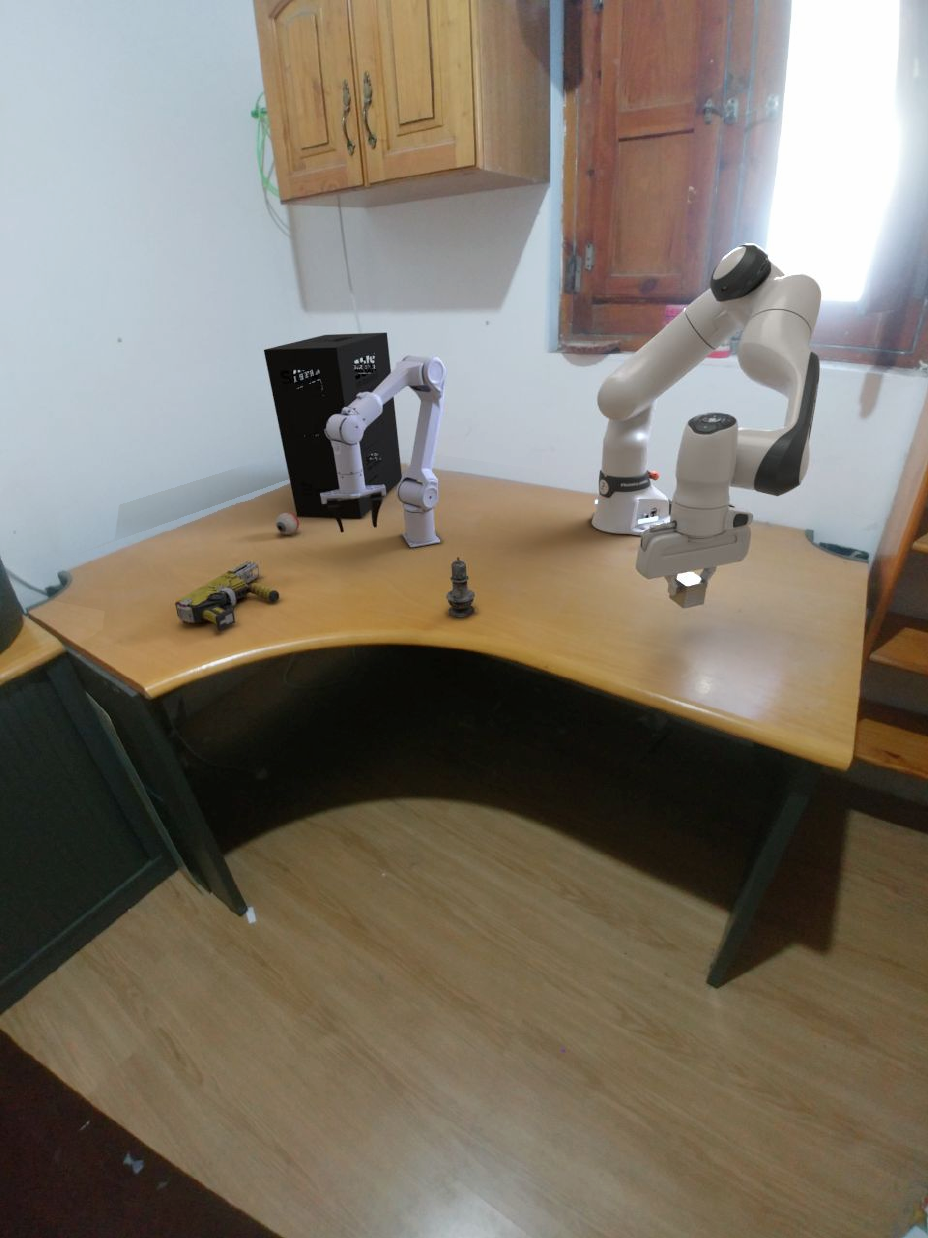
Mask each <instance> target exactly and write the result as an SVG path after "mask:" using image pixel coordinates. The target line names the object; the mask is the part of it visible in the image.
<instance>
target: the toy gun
mask: <svg viewBox="0 0 928 1238" xmlns="http://www.w3.org/2000/svg"><path fill="white" fill-rule="evenodd" d="M251 562H252V561H251V560H247V561H245V562H244V563H242V564H240V565H239V566H237V567H235V568H234V569H232V570H228V571H226V572H225V573H223V574H221V575H220V576H218V577H216V578H214V579H212V580H211V581H209V582H207V583H205V584H203V585H202V586H201V587H199V588H197V589H195V590H193V591H192V592H189V594H187V595H185V596H183V597H181V598H180V599H178V600H176V601H175V603H174V606H175V610H176V615H177V617H178V618H179V620H181V622H182V623H183V624H185V623H186V624H187V625H189V624H192V623H193V624H198V623H199V624H200V623H204V622H207V621H209V622H212V623H213V624H215V625H216V628H217V631H222V630H224V629H226V628H228V627H230V626H231V625H233V624H235V623H236V619H235V611H234V609H233V607H234V606H236V605H237V600H239V599H241V598H242V597H245V596H247V595H249V594H252V595H255V596H258V597H259V598H263V599H265V600H268V601H270V602H272V603H275V602H277V601H278V600H279V599H280V593H279V591H278V590H276V589H271V588H269V587H268V588H267V587H266V586H263V585H262V584H261V585H260V584H258V583H256V582H254V583H252V584H251V585H248V584H249V583H250V582H253V581H254V580H255V579H257V578H259V577H260V567H259V564H258V563H257V562H256V561H253V562H252V563H251ZM256 569H257V573H254V571H255V570H256Z"/></svg>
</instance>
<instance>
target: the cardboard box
mask: <svg viewBox="0 0 928 1238" xmlns="http://www.w3.org/2000/svg"><path fill="white" fill-rule="evenodd" d="M389 349H390V348H389V339H388V332H363V333H361V332H360V333H340V334H339V333H337V334H334V333H333V334H323V335H318V336H314V337H311V338H305V339H302V340H298V341H293V342H290V343H285V344H282V345H278V346H272V347H270V348H265V349H263V354H264V360H265V364H266V370H267V373H268V379H269V384H270V388H271V394H272V399H273V403H274V410H275V414H276V420H277V423H278V429H279V433H280V438H281V444H282V449H283V454H284V459H285V463H286V469H287V473H288V479H289V484H290V489H291V495H292V499H293V504H294V509H295V513H296V517H315V518H316V517H317V518H335V517H334V515H333V514H332V512H331V511H330V509H329V508H328V505H327V503H326V504H322V501H321V495H320V493H325V492H330V491H334V490H338V489H340V487H339V481H338V474H337V469H336V462H335V456H334V450H333V447H332V443H331V441H330V439H329V438H328V437H327V436H326V434H325V431H324V430H325V429H326V425H327V422H328V420H329V418H330V417H331V416H332V415H334V414H341V412H342V409H343V408H344V407H348V406H349V405H350V404H351V403H352V402H353V401H354V400H356V399H357V396H356V395H357V394H359V393H364V392H370V393H372V392H373V391H374V390H375V389H376V388H377V387H378V386H379V385H380V384H381V383H382V382H383V381H384V379H385V378H386V377H387V376H388V375H389V374H390V373H391V372H392V369H391V357H390V350H389ZM367 357H368V359H367ZM361 359H362V361H361ZM356 361H358V362H356ZM294 371H295V373H294ZM395 407H396V406H395V396H393V397H392V398H391V399H390V400H388V401H387V402H386V403H385V404H383V405H382V413H381V414H380V415H379V416H378V417H377V418H376V419H375V420H374V421H373V422H372V423H371V424H369V425H368V426H367V427H366V429H365V430H364V433H363V437H362V439H361V441H359V445H360V452H361V459H362V467H363V474H364V481H365V486H371V485H384V486H385V489H386V495H387V494H388V493H389V492H390V491H391V490H392V489H394V488H395V486H397V484H399V483H400V481H401V478H402V474H403V472H402V464H401V453H400V444H399V443H400V442H399V435H398V425H397V414H396V408H395ZM386 495H383V496H382V495H381V496H382V499H383V498H384V497H385V496H386ZM338 503H339V507H340V514H341V519H344V518H345V519H346V518H347V519H362V518H363V517H364V516H366V514H367V513H368V512H370V511H371V505H370V499H369V497H362V498H355V499H348V500H341V501H338Z"/></svg>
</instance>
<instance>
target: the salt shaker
mask: <svg viewBox="0 0 928 1238" xmlns="http://www.w3.org/2000/svg"><path fill="white" fill-rule="evenodd" d="M450 567H451V577H450V578H449V579H450V581H451V586H452V588H451V590H449V591H448V592H447V593H446V594H445V598H446V600H447V602H448V604H449V606H450V607H449V609H448V614H449V615H450V616H452V617H455V618H466V617H470V616H471V615H473V614H474V612H475V608H474V606H473V603H474V600H475V597H476V593H475V592H474V591H473V590H471V589H469V587H468V581H469V576H468V575H467V564H466V562H465V561H464V560H461V558H460V557H459V556H457V557H456V560H454V561H453V562H452V563H451V566H450Z"/></svg>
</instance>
